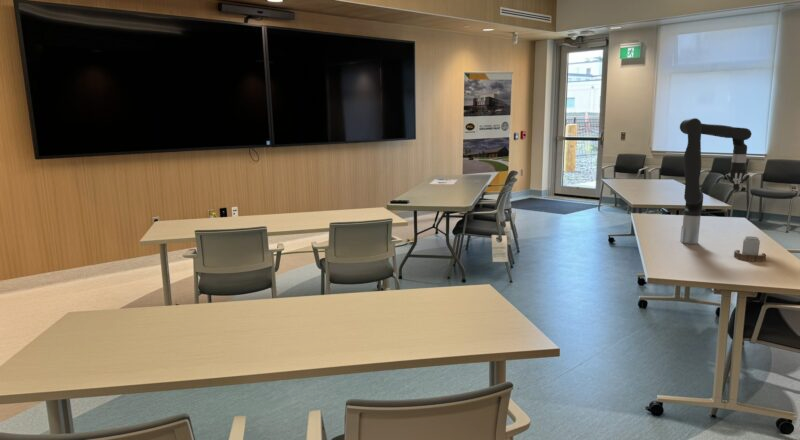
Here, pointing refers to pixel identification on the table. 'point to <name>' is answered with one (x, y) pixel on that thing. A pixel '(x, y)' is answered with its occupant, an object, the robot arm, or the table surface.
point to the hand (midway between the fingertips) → (735, 190)
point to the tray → (749, 256)
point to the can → (751, 245)
